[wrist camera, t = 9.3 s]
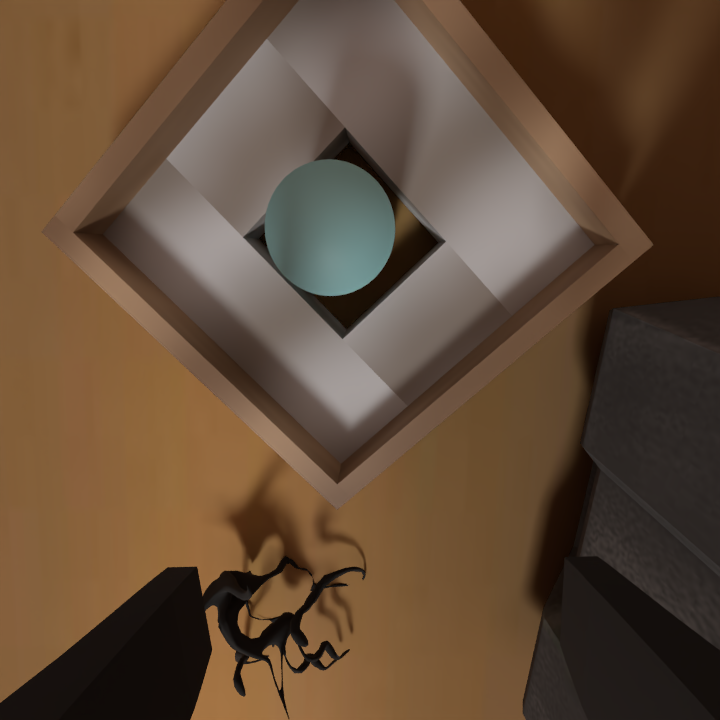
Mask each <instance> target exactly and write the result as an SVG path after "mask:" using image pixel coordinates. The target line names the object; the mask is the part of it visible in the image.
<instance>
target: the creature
mask: <svg viewBox="0 0 720 720" xmlns="http://www.w3.org/2000/svg"><path fill="white" fill-rule="evenodd" d="M289 563H290V564H291V565H292V566H294V567H295V568H296V569H301V570H306V571H308V570H307V569H305V568H300V567H298V566H297V564H296V563H295V562H294V561H293V560H292V559H290V558H288V557H287V556H285V557H284V558H283V559H282V560H281V562H280V563H279V565H278V567H277V568H276V569H275V570H274V571H272V572H271V573H269V574H266V575H263V576H257V575H253V574H252V573H251V571H249V572H247V573H243V572H240V571H224V572H222V573H221V575H220V577H219V578H218V579H216V580H215V581H213V582H212V583H211V584H210V585H209V587H208V588H207V589H206V591H205V593H204V595H203V602H204V608H205V611H206V609H208V608H209V607H210V606H212V605H215V606H216V607H218V623H219V626H218V627H219V629H220V631H221V633H222V635H223V636H224V638H225V640H226V641H227V643H228V644H229V645H230V647H232V648H233V649H234V650H236V653H235V660H236V661H237V662H238V664H237V666H236V670H235V674H234V678H233V680H234V687H235V688H236V690H237V692H238V693H239V694H240V695H241V696H245V688H244V685H243V682H242V678H241V674H240V673H241V669H242V667H243V664H250V663H254V662H258V661H261V660H263V661H266V662H267V663H268V664H269V666H270V669H271V672H272V675H273V679H274V682H275V685H276V687H277V690H278V693H279V696H280V698H281V700H282V703H283V706H284V708H285V711H286V713H287V716H288V712H287V709H286V704H285V700H284V692H283V674H282V687H281V690H279V689H278V686H277V683H276V681H275V677H274V673H273V669H272V664H271V661H270V659H269V658H268V656H267V657H266V656H264V655H262V652H263V650H264V649H265V648H266V647H268V646H269V645H272V647H274V645H277V646H278V647H279V650H280V653H281V670H282V661H283V655H284V656H285V659H286V662H287V664H288V666H289V667H290V669H291V670H292V671H293V672H294V673H302V672H303V671H305V670H306V669H307V667H308V666H309V664H310V662H311V664H312V665H313V666H315V667H317V668H318V669H320V670H326V669H328V668H329V667H330V666H331V665H332V664H334V663H335V662H336V661H337V660H339V659H341V658H342V657H343V656H344V655H345V654H346V653H348V652H349V650H350V649H348V650H346V651H345V652H344V653H342V655H341V656H340V657H339V656H338V655H337V654H336V652H335V650H334V648H333V647H332V645H331V644H330V643H329V642H328V641H324V642H322V643H321V645H320V647H319V650H318V651H317V652H316V653H315V654H311V653H310V654H305V653H304V651H303V649H302V647H301V646H303V647H306V646H308V640H307V638H306V636H305V635H304V633H303V632H302V631H301V630H300V622H301V619H302V616H303V614H304V613H305V612H307V611H308V610H309V609H310V608H311V606H312V605H313V604H314V603H315V602H316V601H317V599H318V597H319V596H320V594H321V592H322V590H323V589H324V588H329V587H340V586H348V585H347V584H337V585H330V586H326V585H328V584H329V583H330V582H332V581H333V580H334V579H335V578H337V577H339V576H341V575H343V574H345V573H347V572H350V571H356V572H362V574H363V575H364V576H363V578H362V579H364V578H365V575H366V574H365V571H364V570H363V569H361V568H359V567H348V568H344V569H341V570H338V571H335V572H332V573H330V574H327V575H324V576H323V578H322V579H321V580H320V581H319V582H318V583H317V585H315V584H314V581H313V586H312V588H311V591H312V592H311V593H310V595H309V596H308V598H307V599H306V601H305V603H304V605H303V606H302V607H301V608H300V609H299V610H297V611H296V613H295V615H294V614H292V613H290V612H285V613H283V614H282V615H281V616H280V617H277V618H275V619H259V618H256V617H253V616H251V614H250V609H249V605H248V600H249V599H250V598H251V597H252V595H253V594H254V593H255V592H256V591H257V590H258V589H259V587H260V586H261V585H262V584H264V583H265V582H266V581H267V580H268V579H269V578H271V577H273V576H275V575H277V574H279V573H281V572H282V571H283V569H284V567H285V566H286V564H289ZM308 572H309V571H308ZM309 574H310V575H311V576H312V574H311V573H310V572H309ZM312 578H313V577H312ZM245 604H246V607H247V609H248V612H249V616H250V617H252V618H255V619H258V620H270V621H271V622H272V623H271V624H270V625H269V626H268V627H267V628H266V629H265V630H263V631H262V633H261V636H260V637H258V638H254V639H250V638H249V637H247V636H246V635H244V634H243V633H241V631H240V629H239V626H238V624H237V621H238V614H239V611H240V609H241V608H242V607H243V606H244V605H245ZM289 634H291V636H292V638H293V639H294V641H295V642H296V644H298V646H299V649H300V651H301V653H302V655H303V657H304V658H305V659H304V662H303V663H302V664H301V665H300V666H299V667H298V668H297V669H296V668H294V667H292V666H291V665H290V664H289V662H288V660H287V658H286V650H285V645H286V642H287V638H288V636H289ZM325 650H326V651H327V653H328V654H329V655H330V657H331V658H333V659H335V660H333V661H332V662H331V663H330V664H329V665H328V666H327V667H324V665H323V664H322V663H321V661H320V660H319V659H320V658H321V657H322V655H323V653H324V651H325ZM249 656H250V657H252V658H255V659H259V660H256V661H252V662H248V661H247V660H248V659H249ZM288 719H289V716H288Z"/></svg>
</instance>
